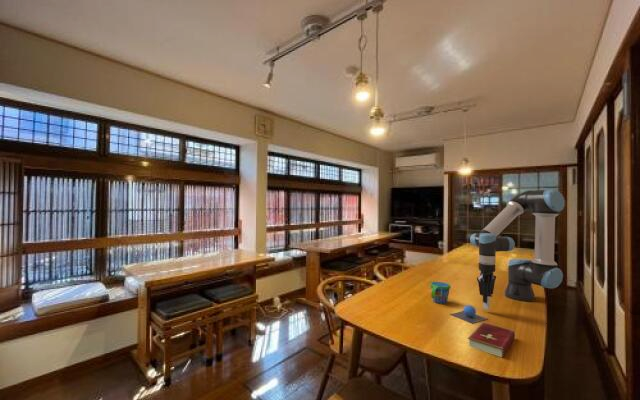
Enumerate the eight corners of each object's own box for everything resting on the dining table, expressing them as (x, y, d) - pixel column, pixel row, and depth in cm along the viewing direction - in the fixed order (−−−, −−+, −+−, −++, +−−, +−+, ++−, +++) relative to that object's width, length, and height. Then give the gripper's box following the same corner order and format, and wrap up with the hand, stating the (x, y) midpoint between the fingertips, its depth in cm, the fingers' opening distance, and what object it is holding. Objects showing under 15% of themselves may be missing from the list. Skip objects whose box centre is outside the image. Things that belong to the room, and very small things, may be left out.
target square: (465, 310, 150) (465, 310, 150) (488, 319, 139) (488, 318, 139) (450, 314, 144) (450, 314, 144) (472, 323, 133) (472, 323, 133)
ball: (469, 317, 144) (472, 307, 145) (476, 320, 139) (479, 309, 140) (459, 312, 144) (463, 302, 145) (466, 315, 139) (469, 304, 140)
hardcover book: (514, 340, 119) (514, 330, 119) (503, 359, 104) (503, 348, 104) (482, 330, 128) (482, 321, 128) (467, 347, 113) (467, 336, 113)
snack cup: (439, 296, 171) (440, 279, 171) (456, 302, 162) (456, 284, 162) (423, 301, 163) (423, 283, 163) (440, 307, 154) (440, 288, 154)
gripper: (487, 260, 154) (486, 304, 154) (472, 262, 148) (471, 308, 148) (501, 263, 148) (501, 309, 148) (486, 265, 142) (485, 313, 142)
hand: (486, 308), depth 148 cm, fingers closed
